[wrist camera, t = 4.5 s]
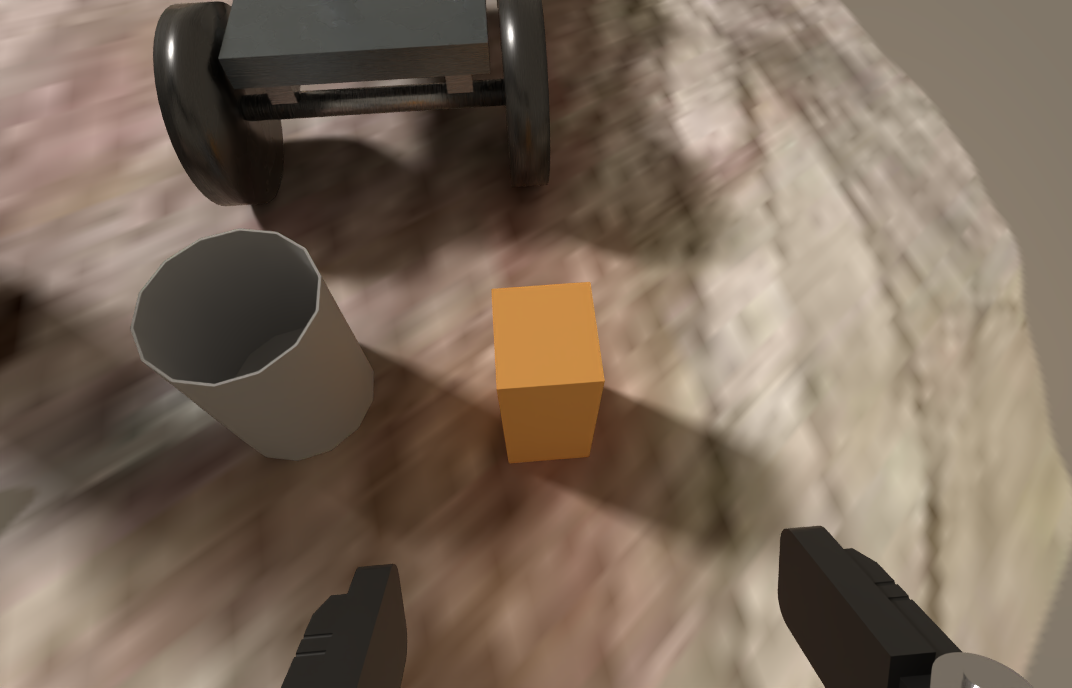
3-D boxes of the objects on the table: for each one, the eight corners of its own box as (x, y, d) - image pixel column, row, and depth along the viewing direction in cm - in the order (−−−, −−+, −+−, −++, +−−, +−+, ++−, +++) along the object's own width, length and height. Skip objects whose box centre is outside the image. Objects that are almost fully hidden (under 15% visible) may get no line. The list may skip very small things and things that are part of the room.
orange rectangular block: (589, 456, 34) (604, 381, 26) (508, 463, 34) (496, 389, 25) (579, 376, 37) (589, 281, 28) (504, 382, 37) (491, 288, 28)
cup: (238, 479, 34) (132, 410, 25) (224, 355, 38) (128, 257, 29) (388, 432, 35) (336, 350, 26) (360, 316, 39) (307, 210, 30)
